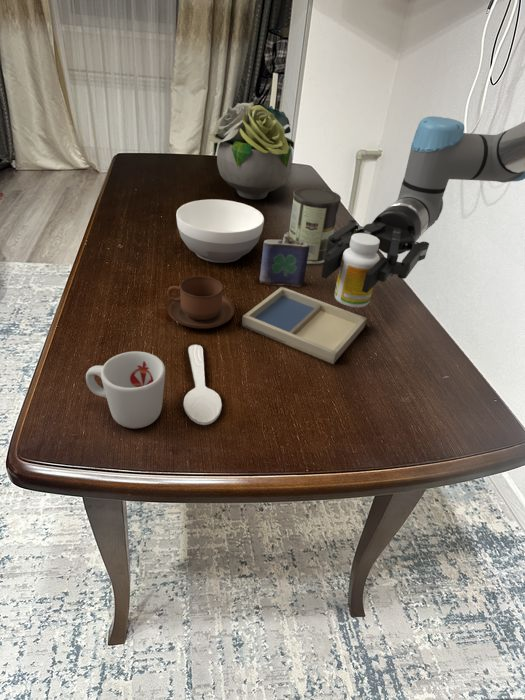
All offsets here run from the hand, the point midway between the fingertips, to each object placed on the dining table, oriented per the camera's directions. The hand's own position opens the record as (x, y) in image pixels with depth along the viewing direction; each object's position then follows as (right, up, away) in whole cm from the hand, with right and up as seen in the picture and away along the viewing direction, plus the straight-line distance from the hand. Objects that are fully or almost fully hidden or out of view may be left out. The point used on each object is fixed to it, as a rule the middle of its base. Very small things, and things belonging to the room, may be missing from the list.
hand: (345, 275), depth 66 cm
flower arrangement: (-14, +35, +77) cm, 86 cm away
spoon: (-21, -15, +7) cm, 27 cm away
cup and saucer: (-22, -4, +22) cm, 32 cm away
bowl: (-21, +12, +44) cm, 51 cm away
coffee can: (-1, +12, +48) cm, 49 cm away
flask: (-7, +4, +36) cm, 36 cm away
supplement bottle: (+2, -3, +7) cm, 8 cm away
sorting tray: (-4, -6, +23) cm, 24 cm away
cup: (-30, -19, +1) cm, 35 cm away
